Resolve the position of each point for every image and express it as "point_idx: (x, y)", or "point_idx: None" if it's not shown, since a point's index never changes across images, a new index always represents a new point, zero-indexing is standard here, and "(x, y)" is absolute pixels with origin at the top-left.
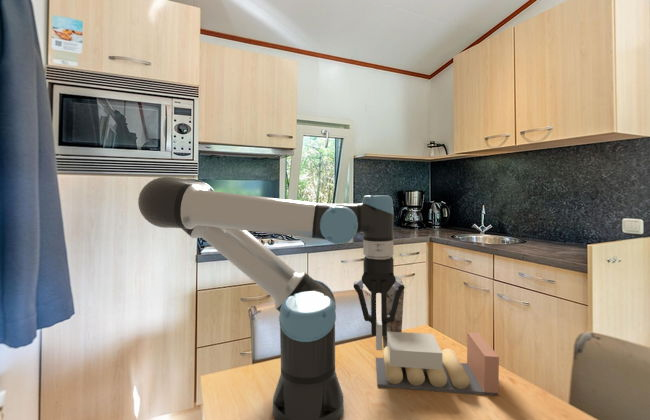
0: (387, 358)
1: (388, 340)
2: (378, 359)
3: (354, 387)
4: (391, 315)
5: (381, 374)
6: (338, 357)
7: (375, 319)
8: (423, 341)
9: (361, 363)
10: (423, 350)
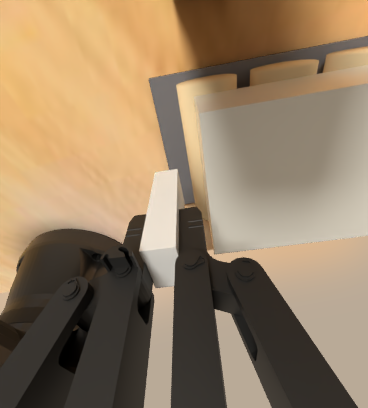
0: (198, 174)
1: (208, 198)
2: (160, 91)
3: (133, 214)
4: (251, 338)
5: (181, 170)
6: (25, 102)
7: (148, 314)
8: (364, 173)
9: (112, 118)
10: (326, 234)
